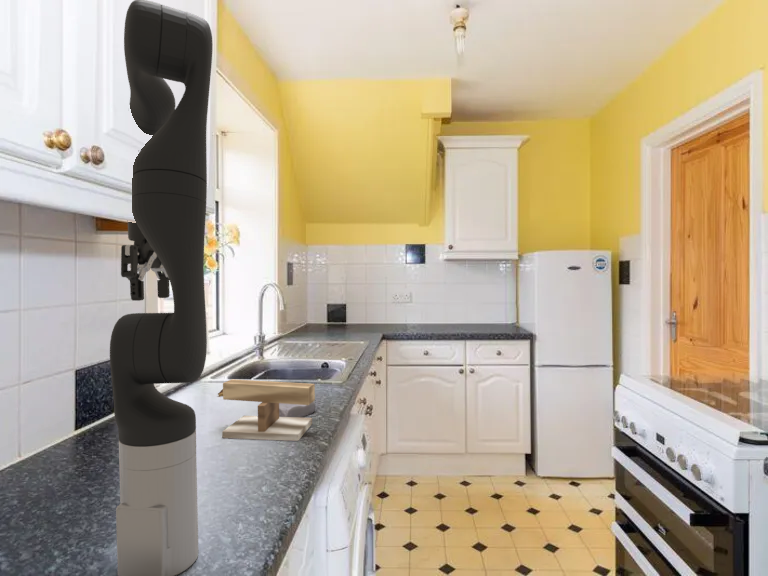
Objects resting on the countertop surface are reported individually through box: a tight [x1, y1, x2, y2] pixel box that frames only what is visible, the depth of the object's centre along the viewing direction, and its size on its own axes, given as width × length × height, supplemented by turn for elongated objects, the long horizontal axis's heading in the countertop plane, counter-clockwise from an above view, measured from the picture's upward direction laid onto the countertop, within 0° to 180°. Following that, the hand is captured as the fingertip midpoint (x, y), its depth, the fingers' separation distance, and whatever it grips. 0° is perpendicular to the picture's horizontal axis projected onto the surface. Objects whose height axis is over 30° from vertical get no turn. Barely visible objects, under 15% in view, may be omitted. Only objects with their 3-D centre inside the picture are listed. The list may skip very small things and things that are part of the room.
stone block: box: [279, 401, 317, 418], centre depth 127 cm, size 12×5×10 cm
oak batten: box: [222, 378, 316, 405], centre depth 114 cm, size 4×22×4 cm, turn 77°
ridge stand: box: [221, 402, 313, 442], centre depth 114 cm, size 12×18×8 cm, turn 83°
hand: (151, 299), depth 94 cm, fingers open, 8 cm apart
